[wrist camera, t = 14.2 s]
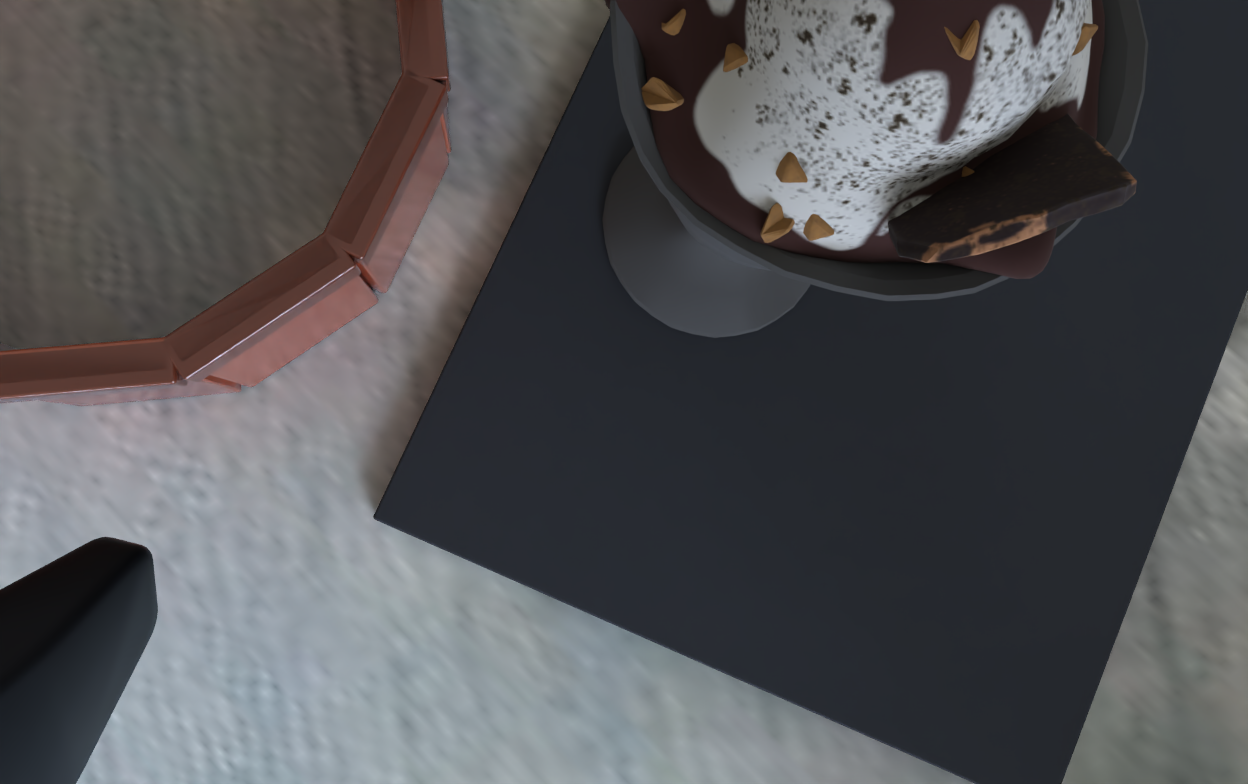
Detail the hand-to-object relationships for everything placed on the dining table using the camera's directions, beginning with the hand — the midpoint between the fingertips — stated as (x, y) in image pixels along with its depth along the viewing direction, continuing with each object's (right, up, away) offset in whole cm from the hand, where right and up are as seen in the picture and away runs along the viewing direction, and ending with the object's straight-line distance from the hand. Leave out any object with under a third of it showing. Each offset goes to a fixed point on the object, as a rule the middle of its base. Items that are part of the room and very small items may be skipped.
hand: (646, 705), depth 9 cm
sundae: (+2, +6, +13) cm, 15 cm away
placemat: (+6, +6, +14) cm, 16 cm away
